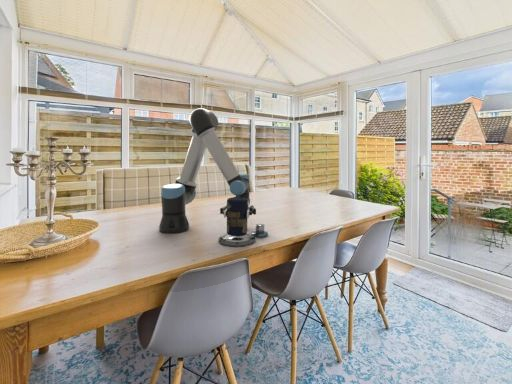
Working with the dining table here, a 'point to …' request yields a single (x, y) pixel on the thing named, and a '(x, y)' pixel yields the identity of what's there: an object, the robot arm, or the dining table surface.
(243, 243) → the flange wide
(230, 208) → the canister
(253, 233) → the flange small
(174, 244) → the dining table surface
